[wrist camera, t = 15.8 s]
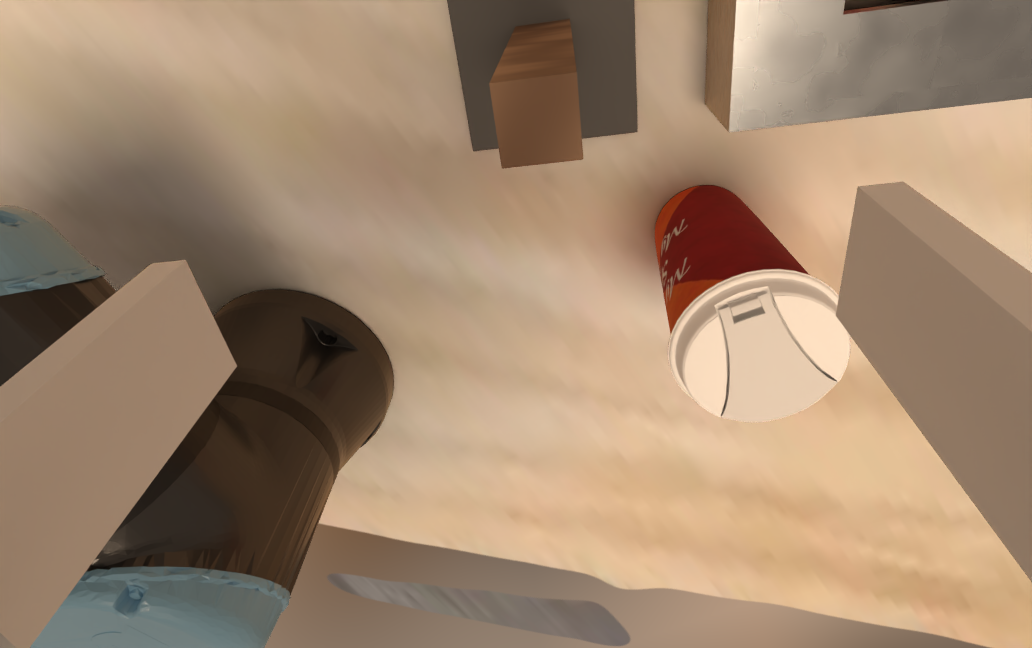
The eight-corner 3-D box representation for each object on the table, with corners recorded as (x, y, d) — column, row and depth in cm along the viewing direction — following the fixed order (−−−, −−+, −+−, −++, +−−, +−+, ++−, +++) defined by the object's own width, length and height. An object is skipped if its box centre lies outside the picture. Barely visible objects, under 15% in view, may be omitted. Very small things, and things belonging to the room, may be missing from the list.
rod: (522, 83, 35) (501, 168, 22) (515, 26, 33) (489, 83, 21) (574, 76, 34) (583, 159, 22) (569, 18, 33) (576, 71, 20)
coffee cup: (618, 199, 39) (647, 326, 26) (746, 144, 36) (844, 255, 24) (661, 300, 43) (704, 453, 30) (779, 257, 40) (878, 403, 28)
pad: (474, 148, 38) (473, 151, 37) (442, -37, 32) (440, -36, 32) (636, 129, 36) (637, 132, 36) (631, -66, 31) (632, -66, 31)
